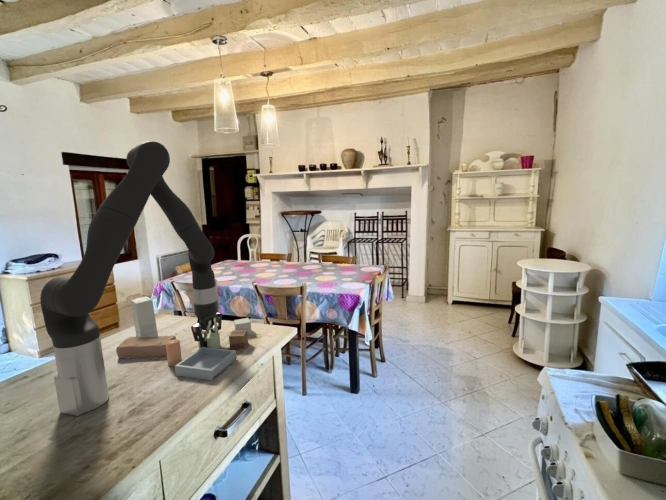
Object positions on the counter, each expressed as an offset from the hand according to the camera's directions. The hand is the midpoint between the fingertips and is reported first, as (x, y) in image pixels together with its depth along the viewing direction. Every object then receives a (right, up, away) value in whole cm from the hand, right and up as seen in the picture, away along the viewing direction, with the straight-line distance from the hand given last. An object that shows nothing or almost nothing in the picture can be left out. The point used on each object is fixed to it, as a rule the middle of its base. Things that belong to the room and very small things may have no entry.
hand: (209, 347), depth 113 cm
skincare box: (-29, 0, +12) cm, 31 cm away
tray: (+4, -3, -12) cm, 13 cm away
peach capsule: (-8, -2, -9) cm, 12 cm away
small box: (+8, +1, +13) cm, 16 cm away
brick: (-21, -2, -1) cm, 21 cm away
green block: (0, -1, 0) cm, 1 cm away
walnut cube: (+10, 0, +2) cm, 10 cm away
